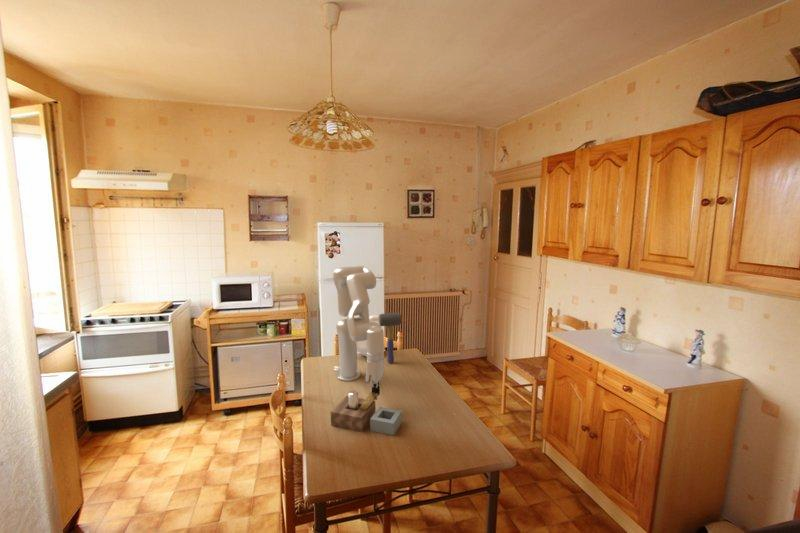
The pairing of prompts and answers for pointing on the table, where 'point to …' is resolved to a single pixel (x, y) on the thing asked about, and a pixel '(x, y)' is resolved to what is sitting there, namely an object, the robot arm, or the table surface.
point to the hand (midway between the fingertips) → (375, 394)
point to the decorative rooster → (363, 344)
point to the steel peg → (353, 400)
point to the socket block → (351, 415)
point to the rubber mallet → (390, 330)
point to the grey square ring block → (386, 420)
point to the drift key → (369, 400)
